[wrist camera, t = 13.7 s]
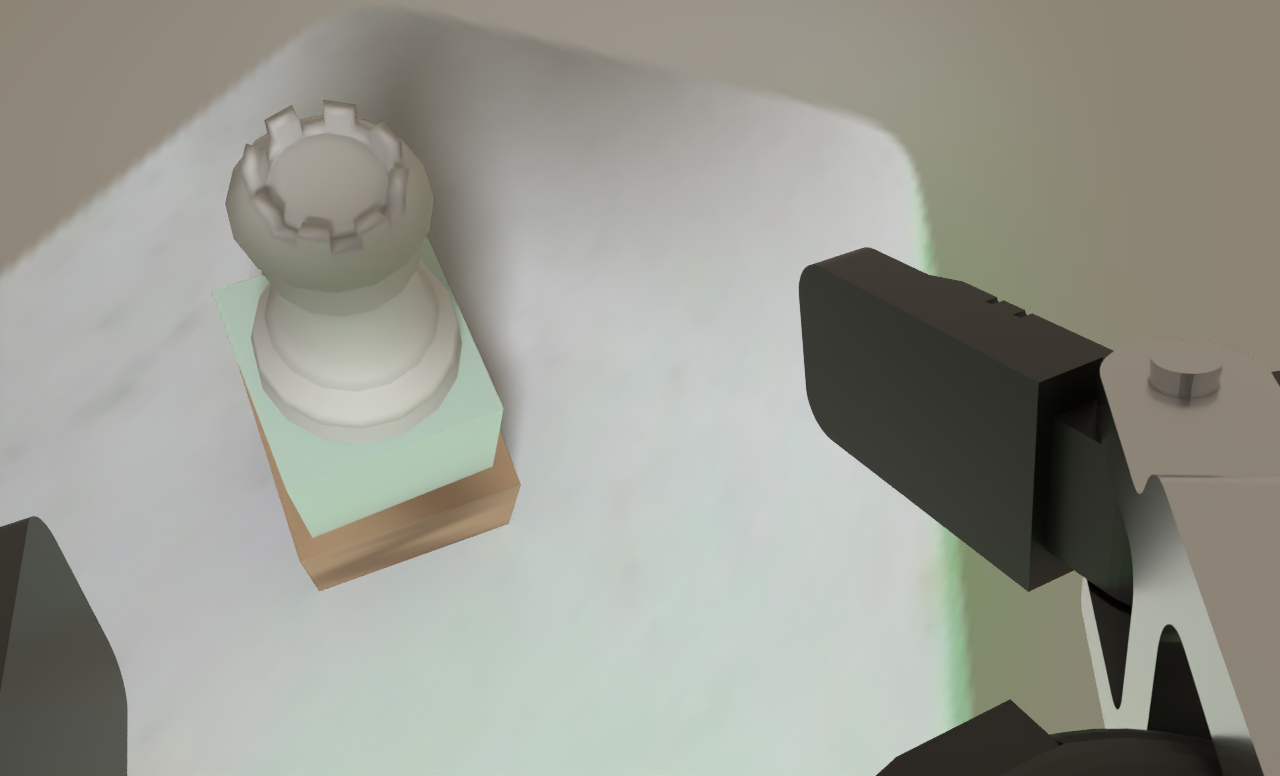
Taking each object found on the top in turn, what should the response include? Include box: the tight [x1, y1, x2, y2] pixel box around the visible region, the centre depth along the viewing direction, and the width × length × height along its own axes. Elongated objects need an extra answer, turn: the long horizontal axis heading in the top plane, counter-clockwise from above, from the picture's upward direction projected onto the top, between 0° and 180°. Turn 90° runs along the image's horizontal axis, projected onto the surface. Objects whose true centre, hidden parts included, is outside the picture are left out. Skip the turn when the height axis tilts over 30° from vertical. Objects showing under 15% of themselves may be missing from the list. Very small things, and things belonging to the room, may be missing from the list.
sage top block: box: [211, 237, 504, 538], centre depth 26 cm, size 5×5×5 cm
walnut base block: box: [238, 364, 521, 591], centre depth 30 cm, size 6×6×5 cm
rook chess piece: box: [225, 100, 462, 444], centre depth 20 cm, size 4×4×8 cm
